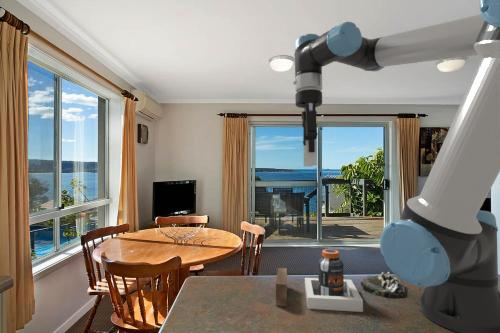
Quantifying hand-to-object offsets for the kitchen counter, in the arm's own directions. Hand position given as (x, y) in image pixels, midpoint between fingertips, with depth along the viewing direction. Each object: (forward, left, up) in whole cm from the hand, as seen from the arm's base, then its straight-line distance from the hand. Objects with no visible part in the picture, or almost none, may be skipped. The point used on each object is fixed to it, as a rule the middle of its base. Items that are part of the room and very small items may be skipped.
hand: (309, 166), depth 79 cm
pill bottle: (-4, +10, -33) cm, 34 cm away
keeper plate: (-4, +10, -33) cm, 34 cm away
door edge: (+8, +10, -33) cm, 35 cm away
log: (-18, +2, -33) cm, 38 cm away
